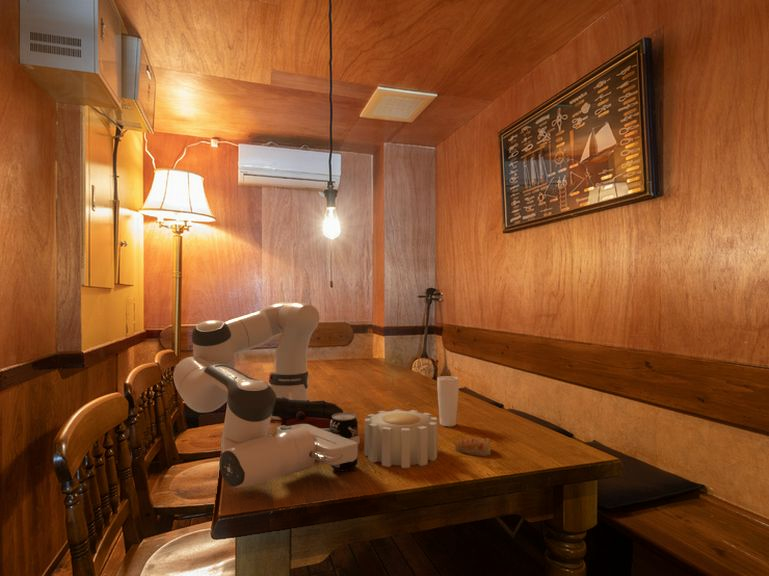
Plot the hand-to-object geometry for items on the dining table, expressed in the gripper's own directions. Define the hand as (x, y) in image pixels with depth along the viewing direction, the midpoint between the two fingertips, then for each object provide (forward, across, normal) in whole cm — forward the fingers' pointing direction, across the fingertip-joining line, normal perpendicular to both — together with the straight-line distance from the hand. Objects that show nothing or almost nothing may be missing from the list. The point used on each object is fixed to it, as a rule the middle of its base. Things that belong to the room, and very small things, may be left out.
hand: (346, 435), depth 105 cm
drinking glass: (+45, +4, +8) cm, 46 cm away
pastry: (+32, -16, +8) cm, 36 cm away
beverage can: (-1, 0, +7) cm, 7 cm away
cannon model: (+2, +22, +8) cm, 24 cm away
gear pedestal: (+16, -3, +8) cm, 18 cm away
